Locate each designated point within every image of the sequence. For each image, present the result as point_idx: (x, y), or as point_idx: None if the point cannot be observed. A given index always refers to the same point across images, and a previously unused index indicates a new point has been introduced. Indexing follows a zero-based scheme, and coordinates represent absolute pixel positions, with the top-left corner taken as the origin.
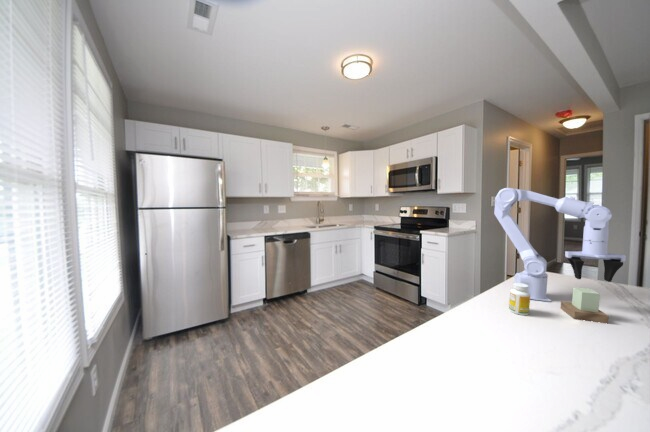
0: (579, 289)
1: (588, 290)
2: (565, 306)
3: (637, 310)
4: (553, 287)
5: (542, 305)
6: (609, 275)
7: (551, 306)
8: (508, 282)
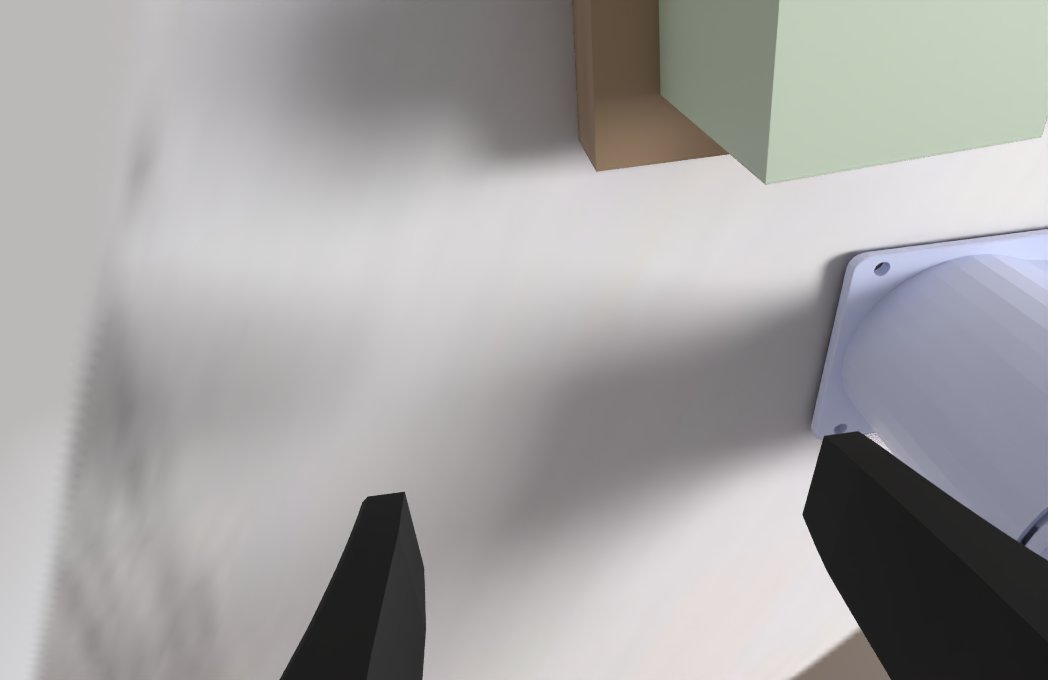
0: (1030, 22)
1: (882, 31)
2: None
3: (129, 401)
4: (611, 610)
5: None
6: (390, 609)
7: None
8: None
